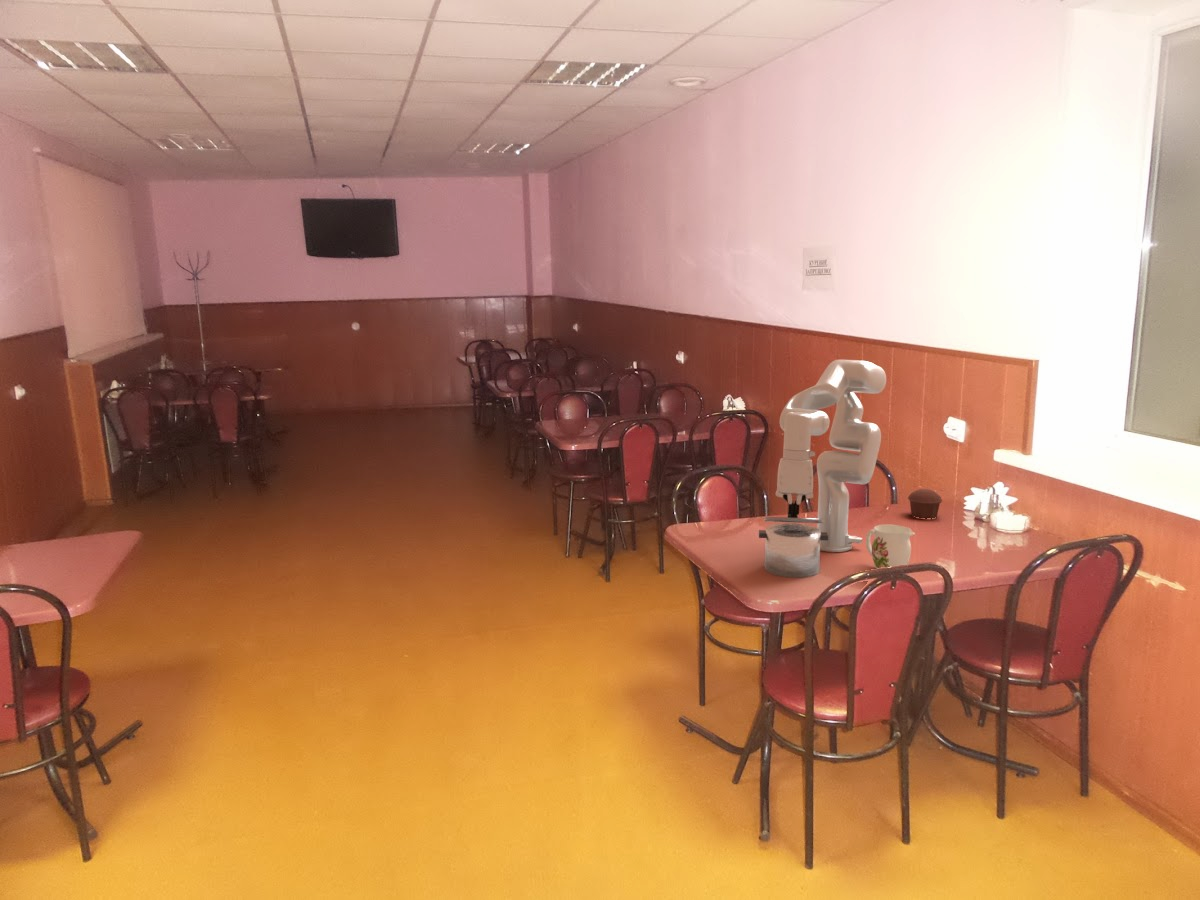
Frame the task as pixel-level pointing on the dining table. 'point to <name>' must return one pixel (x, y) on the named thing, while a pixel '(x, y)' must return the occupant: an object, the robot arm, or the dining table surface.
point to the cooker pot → (792, 549)
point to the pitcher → (889, 545)
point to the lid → (793, 519)
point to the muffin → (924, 503)
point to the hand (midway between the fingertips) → (793, 516)
